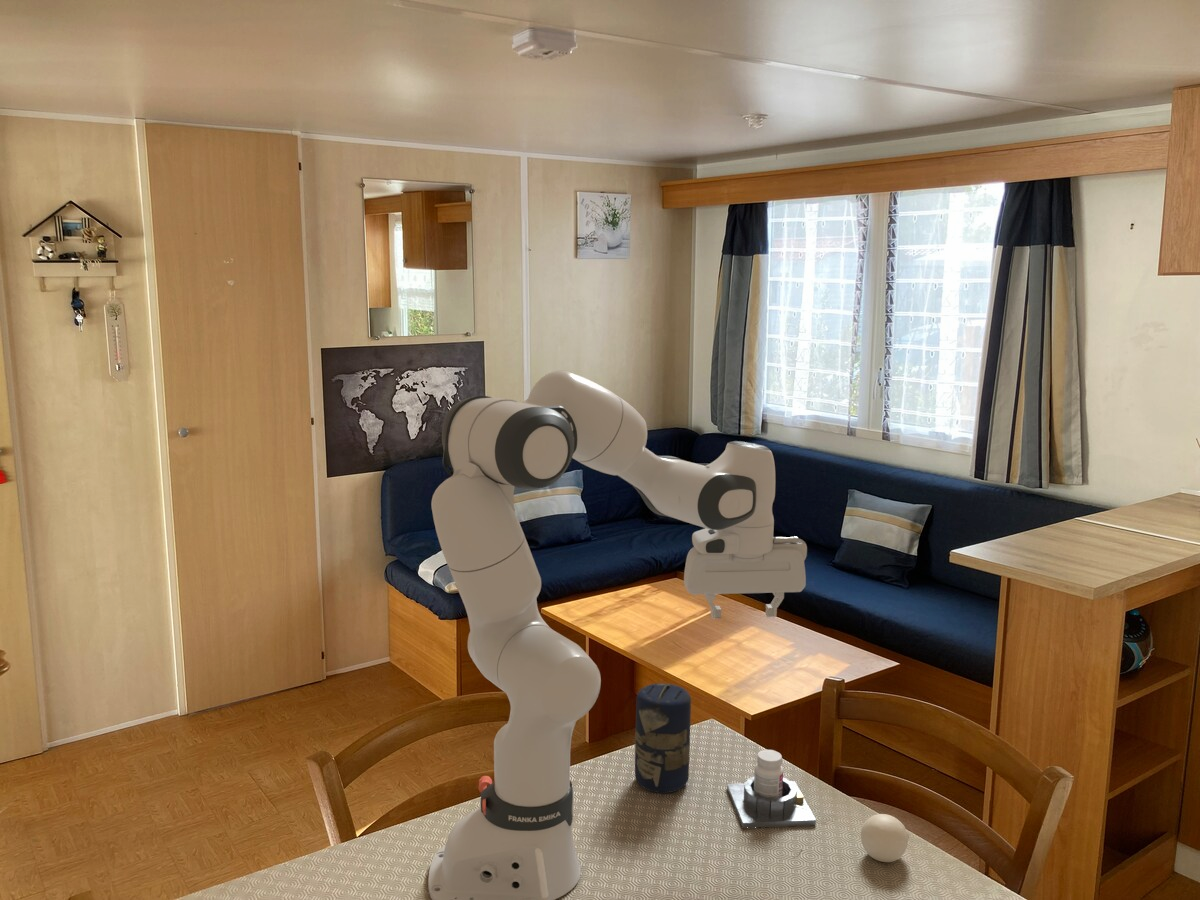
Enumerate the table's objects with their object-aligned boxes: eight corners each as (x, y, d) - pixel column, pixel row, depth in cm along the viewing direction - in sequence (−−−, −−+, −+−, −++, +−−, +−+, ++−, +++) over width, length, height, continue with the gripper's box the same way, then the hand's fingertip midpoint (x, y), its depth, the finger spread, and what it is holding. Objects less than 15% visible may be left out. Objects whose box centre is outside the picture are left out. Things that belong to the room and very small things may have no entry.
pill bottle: (784, 809, 159) (787, 762, 158) (756, 809, 159) (758, 762, 158) (778, 793, 164) (780, 748, 163) (750, 794, 164) (752, 748, 162)
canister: (624, 785, 168) (625, 689, 165) (652, 763, 176) (654, 670, 172) (671, 803, 163) (673, 704, 159) (698, 779, 171) (701, 684, 167)
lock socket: (742, 828, 156) (743, 809, 155) (727, 789, 167) (727, 770, 167) (815, 825, 157) (816, 805, 156) (794, 786, 168) (795, 767, 168)
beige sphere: (917, 860, 148) (920, 821, 146) (884, 876, 144) (887, 835, 143) (883, 838, 153) (886, 800, 152) (850, 853, 150) (853, 813, 148)
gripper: (801, 531, 164) (798, 608, 167) (683, 533, 162) (681, 611, 165) (813, 541, 158) (809, 621, 160) (689, 544, 156) (687, 625, 159)
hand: (743, 616), depth 163 cm, fingers open, 8 cm apart
